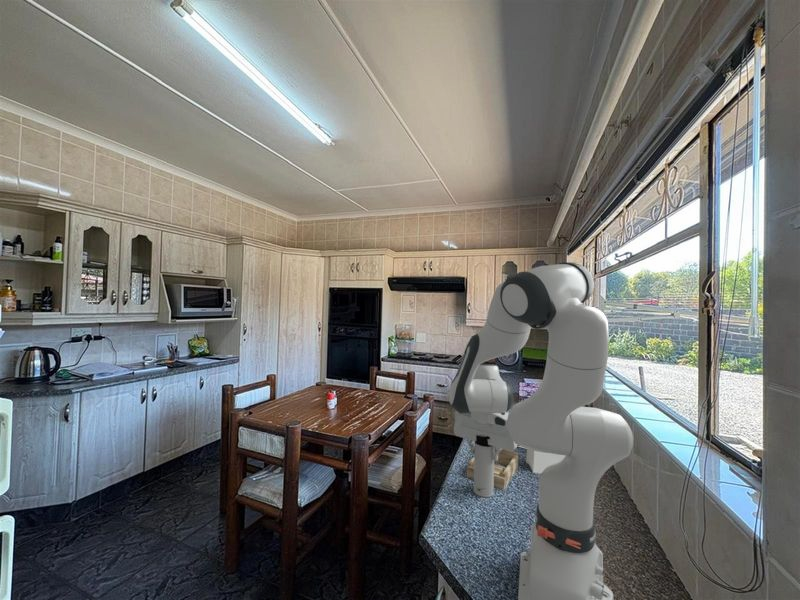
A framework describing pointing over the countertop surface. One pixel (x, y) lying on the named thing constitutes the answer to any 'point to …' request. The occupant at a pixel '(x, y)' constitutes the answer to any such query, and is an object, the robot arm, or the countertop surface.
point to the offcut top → (497, 470)
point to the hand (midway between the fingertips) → (483, 456)
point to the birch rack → (503, 458)
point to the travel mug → (483, 468)
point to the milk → (541, 460)
